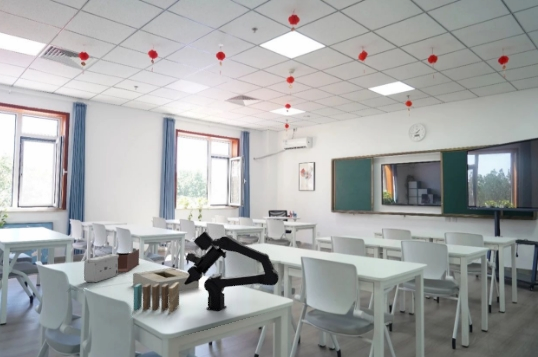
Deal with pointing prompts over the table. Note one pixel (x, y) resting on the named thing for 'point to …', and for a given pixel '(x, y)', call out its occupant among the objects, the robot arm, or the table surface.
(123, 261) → the desk organizer
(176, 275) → the box
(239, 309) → the table surface
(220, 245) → the robot arm
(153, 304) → the domino
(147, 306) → the domino
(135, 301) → the domino
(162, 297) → the domino
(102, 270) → the stereo radio cassette player
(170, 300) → the square wooden board
